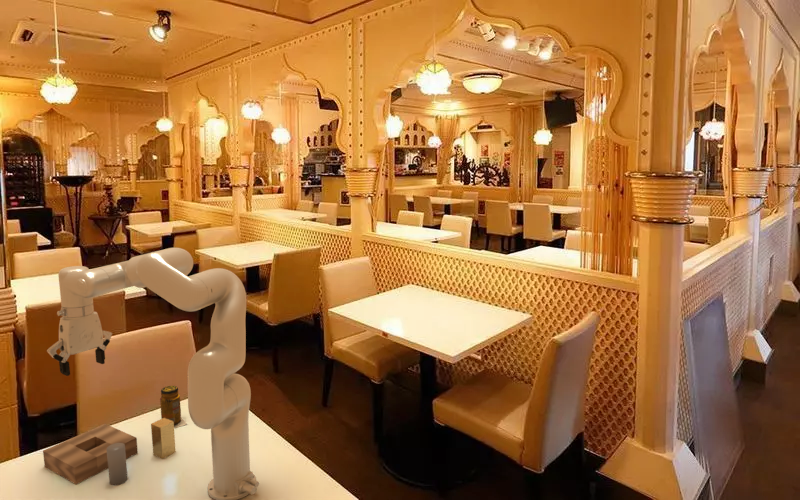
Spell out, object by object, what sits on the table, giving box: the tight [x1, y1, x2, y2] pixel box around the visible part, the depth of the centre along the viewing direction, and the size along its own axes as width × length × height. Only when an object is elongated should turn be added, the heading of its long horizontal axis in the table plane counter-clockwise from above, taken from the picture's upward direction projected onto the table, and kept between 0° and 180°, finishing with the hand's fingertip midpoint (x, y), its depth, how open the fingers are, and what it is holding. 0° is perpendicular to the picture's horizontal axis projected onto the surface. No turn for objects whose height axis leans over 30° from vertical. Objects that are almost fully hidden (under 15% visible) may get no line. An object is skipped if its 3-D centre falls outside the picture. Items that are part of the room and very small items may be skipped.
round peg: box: [107, 443, 129, 486], centre depth 143 cm, size 4×4×10 cm
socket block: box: [42, 423, 139, 485], centre depth 152 cm, size 16×18×5 cm
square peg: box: [150, 418, 176, 460], centre depth 156 cm, size 4×4×10 cm
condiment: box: [159, 385, 187, 429], centre depth 174 cm, size 7×8×12 cm
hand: (83, 368), depth 148 cm, fingers open, 9 cm apart
